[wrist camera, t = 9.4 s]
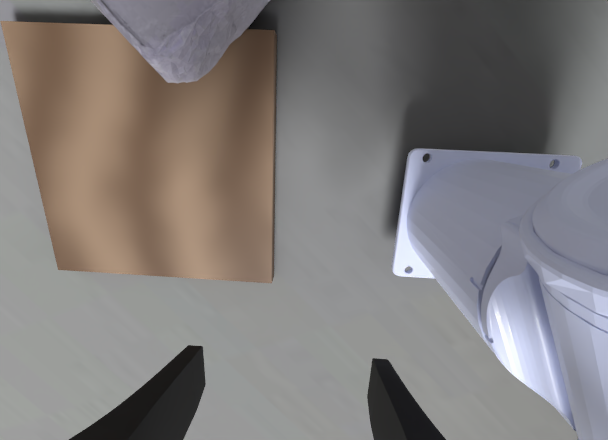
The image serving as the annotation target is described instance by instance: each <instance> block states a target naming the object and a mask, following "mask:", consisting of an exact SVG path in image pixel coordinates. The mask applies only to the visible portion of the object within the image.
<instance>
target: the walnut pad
mask: <svg viewBox="0 0 608 440" xmlns="http://www.w3.org/2000/svg"><path fill="white" fill-rule="evenodd" d="M1 25H2V30H3V34H4V38H5V43H6V47H7V51H8V55H9V60H10V64H11V68H12V73H13V77H14V81H15V86H16V90H17V94H18V99H19V103H20V107H21V111H22V116H23V120H24V124H25V129H26V133H27V137H28V142H29V146H30V150H31V155H32V159H33V163H34V167H35V172H36V176H37V180H38V185H39V189H40V193H41V198H42V202H43V206H44V211H45V215H46V219H47V223H48V228H49V232H50V236H51V241H52V245H53V249H54V254H55V258H56V262H57V266H58V270H71V271H87V272H103V273H119V274H134V275H150V276H166V277H182V278H198V279H214V280H230V281H245V282H261V283H272V281H273V277H274V218H275V140H276V63H277V35H276V33H275V30H256V29H246V30H245V31H244V32H243V33H242V35H241V36H240V37H238V38H237V39H235V40H234V41H233V42H232V43H231V44H230V45H229V46H228V48H227V49H226V51H225V52H224V54H223V56H222V57H221V58H220V59H219V61H218V62H217V64H216V65H215V66H214V67H213V68H212V69H211V70H210V71H209V72H208V73H207V74H206V75H204V76H203V77H201V78H200V79H199V80H198V81H194V82H188V83H186V82H181V83H168V82H166V81H165V80H164V78H163V77H162V76H161V75H160V74H159V73H158V72H157V71H156V70H155V69H154V68H153V67H152V66H151V65H150V64H149V63H148V62H147V61H146V60H145V59H144V58H143V56H142V55H141V54H140V53H139V52H138V51H137V50H136V49H135V48H134V47H133V46H132V45H131V44H130V43H129V41H128V40H127V39H126V38H125V37H124V36H123V35H122V34H121V33H120V32H119V31H118V30H117V28H116V27H115V26H114V25H105V24H75V23H44V22H14V21H1Z"/></svg>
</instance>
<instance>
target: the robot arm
mask: <svg viewBox="0 0 608 440" xmlns="http://www.w3.org/2000/svg"><path fill="white" fill-rule="evenodd" d="M427 153H428V154H429V157H430V158H429V160H428V161H427V162H424V161H423V159H422V158H423V155H425V154H427ZM552 160H554V165H553V166H552V167H551V168H550V162H551V161H552ZM581 166H582V160H581V158H580V157H578V156H573V155H553V154H532V153H510V152H488V151H467V150H445V149H424V148H416V149H413V150H411V151H410V152H409V154H408V157H407V164H406V171H405V178H404V185H403V191H402V198H401V205H400V212H399V219H398V226H397V232H396V239H395V246H394V253H393V260H392V271H393V273H394V274H395V275H397V276H405V277H421V278H435V279H436V280H437V281H438V282H439V284H440V285H441V286H442V288H443V289H444V290H445V291H446V293H447V294H448V295H449V296H450V298H451V299H452V300H453V302H454V303H455V304H456V305H457V307H458V308H459V309H460V310H461V312H462V313H463V314H464V316H465V317H466V318H467V319H468V321H469V322H470V323H471V325H472V326H473V327H474V328H475V330H476V331H477V332H478V333H479V335H480V336H481V337H482V339H483V340H484V341H485V342H486V344H487V345H488V346H489V347H490V349H491V350H492V351H493V352H494V353H495V355H496V356H497V358H498V359H499V360H500V361H501V363H502V364H503V365H504V366H505V367H506V368H507V369H508V370H509V371H510V372H511V373H512V374H513V375H514V376H515V377H516V378H518V379H519V380H520V381H522V382H523V383H524V384H525V385H527V386H528V387H530V388H531V389H532V390H534V391H535V392H536V393H538V394H539V395H540V396H542V397H543V398H544V399H546V400H547V401H548V402H549V403H550V404H552V405H553V406H554V407H555V408H556V409H557V410H558V412H559V413H560V414H561V415H562V416H563V418H564V419H565V420H566V421H567V422H568V423H569V425H570V426H571V427H572V428H573V429H574V430H575V431H576V432H577V436H578V440H608V158H607V159H605V160H602V161H599V162H597V163H594V164H592V165H590V166H587V167H585V168H583V169H581ZM580 169H581V170H580ZM407 266H410V267H411V269H410V270H408V271H405V270H404V269H405V268H406V267H407ZM204 387H205V372H204V358H203V346H191V345H188V346H187V347H186V348H185V349H184V350H183V351H182V352H180V353H179V354H178V355H177V356H176V357H175V358H174V359H173V360H172V361H171V362H170V363H168V364H167V365H166V366H165V367H164V368H163V369H162V370H161V371H160V372H158V373H157V374H156V375H155V376H154V377H153V378H152V379H150V380H149V381H148V382H147V383H146V384H145V385H143V386H142V387H141V388H140V389H139V390H137V391H136V392H135V393H134V394H132V395H131V396H130V397H129V398H128V399H126V400H125V401H124V402H123V403H121V404H120V405H119V406H117V407H116V408H115V409H113V410H112V411H111V412H109V413H108V414H107V415H105V416H104V417H102V418H101V419H100V420H98V421H97V422H95V423H94V424H92V425H91V426H89V427H88V428H86V429H85V430H83V431H82V432H80V433H79V434H77V435H75V436H74V437H72V438H71V439H69V440H183V439H184V436H185V434H186V432H187V430H188V428H189V426H190V424H191V421H192V419H193V417H194V415H195V413H196V410H197V408H198V405H199V402H200V399H201V396H202V393H203V390H204ZM367 397H368V406H369V415H370V422H371V428H372V432H373V437H374V440H446V439H445V438H444V437H443V435H442V434H441V433H440V432H439V431H438V429H437V428H436V427H435V426H434V424H433V423H432V422H431V421H430V419H429V418H428V417H427V416H426V414H425V413H424V412H423V410H422V409H421V408H420V406H419V405H418V403H417V402H416V401H415V399H414V398H413V397H412V395H411V394H410V392H409V391H408V389H407V388H406V386H405V385H404V384H403V382H402V381H401V379H400V377H399V376H398V374H397V373H396V371H395V370H394V368H393V367H392V365H391V363H390V362H389V361H388V360H387V359H373V360H372V367H371V374H370V382H369V389H368V396H367Z"/></svg>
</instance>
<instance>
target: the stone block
mask: <svg viewBox="0 0 608 440" xmlns="http://www.w3.org/2000/svg"><path fill="white" fill-rule="evenodd" d="M269 1H270V0H91V2H92V3H93V4H94V5H95V6H96V7H97V8H98V9H99V10H100V11H101V12H102V13H103V15H104V16H105V17H106V18H107V19H108V20H109V21H110V22H111V23H112V24H113V25H114V26H115V27H116V28H117V30H118V31H119V32H120V33H121V34H122V35H123V36H124V37H125V38H126V39H127V40H128V41H129V43H130V44H131V45H132V46H133V47H134V48H135V49H136V50H137V51H138V52H139V53H140V54H141V55H142V56H143V58H144V59H145V60H146V61H147V62H148V63H149V64H150V65H151V66H152V67H153V68H154V69H155V70H156V71H157V72H158V73H159V74H160V75H161V76H162V77H163V78H164V80H165V81H166V82H168V83H181V82H186V83H188V82H194V81H198V80H199V79H200V78H201V77H203V76H204V75H206V74H207V73H208V72H209V71H210V70H211V69H212V68H213V67H214V66H215V65H216V64H217V62H218V61H219V59H220V58H221V57H222V56H223V54H224V52H225V51H226V49H227V48H228V46H229V45H230V44H231V43H232V42H233V41H234V40H235V39H237V38H238V37H240V36H241V35H242V33H243V32H244V31H245V30H246V29H247V28H248V27H249V26H250V24H251V23H252V22H253V21H254V20H255V18H256V17H257V16H258V14H259V13H260V12H261V11H262V9H263V8H264V6H265V5H267V4H268V2H269Z"/></svg>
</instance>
